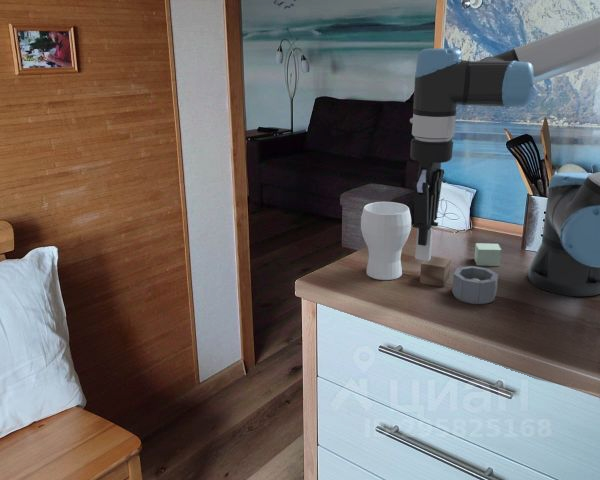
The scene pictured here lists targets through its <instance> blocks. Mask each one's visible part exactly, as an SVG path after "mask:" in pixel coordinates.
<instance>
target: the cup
mask: <svg viewBox="0 0 600 480" xmlns="http://www.w3.org/2000/svg"><path fill="white" fill-rule="evenodd" d="M360 230H361V233H362V237H363V240H364V242H365V244H366V246H367V249H368V261H367V264H366V265H367V266H366V271H365V272H366V275H367V276H368V277H370V278H372V279H375V280H383V281H390V280H391V281H392V280H396V279H398V278H400V277H402V275H403V271H402V270H403V269H402V262H401V261H402V260H401V256H402V251H403V248H404V246H405V244H406V242H407V241H408V238H409V237H410V233H411V230H412V216H411V211H410V208H409V206H407V205H406V204H404V203H399V202H394V201H375V202H371V203H368V204H366V205H364V207H363V208H362V213H361V216H360Z"/></svg>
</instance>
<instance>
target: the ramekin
mask: <svg viewBox="0 0 600 480" xmlns="http://www.w3.org/2000/svg"><path fill="white" fill-rule="evenodd" d="M452 277H453V278H452V291H451V292H452V295H453V296H454V298H456V299H457V300H458V301H461V302H463V303H465V304H473V305H486V304H489V303H493V302H494V300H495V298H496V296H497V290H498V282H499V281H498V279H499V274H498V273H496V271H495V272H494V271H493V270H491V269H490V268H486V267H481V266H477V265H475V266H474V265H469V266H463V267H457V268H456V269H455V271H454V272H453V276H452ZM473 278H477V279H479V280H480V281H477V280H471V279H473Z"/></svg>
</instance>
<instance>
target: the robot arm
mask: <svg viewBox="0 0 600 480" xmlns="http://www.w3.org/2000/svg"><path fill="white" fill-rule="evenodd" d="M598 62H600V16H597V17H594V18H592V19H589V20H587V21H584V22H581V23H578V24H577V25H573V26H570V27H567V28H565V29H562V30H560V31H557V32H555V33H552V34H550V35H547V36H544V37H541V38H539V39H536V40H533V41H530V42H528V43H525V44H523V45H520V46H517V47H514V48H513V49H510V50H507V51H503V52H500V53H498V54H496V55H492V56H490V55H489V56H487V57H483V58H480V60H476V61H475V60H474V61H471V60H464V59H463V57H462V51H461V50H460V49H459V48H443V47H442V48H439V47H438V48H433V47H432V48H424V49H422V50H420V51H419V53H418V54H417V58H416V65H415V66H416V67H415V75H414V90H413V108H412V109H413V110H412V113H413V114H412V117H410V119H409V123H410V124H412V127H411V128H412V129H411V135H412V136H413V137H412V139H411V140H410V150H409V151H410V152H409V154H410V155H409V156H410V158H411V160H413V161H415V162H418V163H419V166H418V169H417V170H416V173H415V178H416V180H417V181H414V180H413V182H412V190H413V191H412V192H413V225H412V228H414V229H416V237H415V238H416V240H415V251H414V252H415V254H414V256H415V257H414V259H415V260H419V261H424V260H425V261H429V260H430V259H431V256H432V248H433V247H432V246H433V235H434V234H433V233H434V227H436V228H437V227H438V226H439V222H437V221H436V220H437V219H438V212H439V205H440V199H441V192H442V190H441V189H442V184H443V180H444V179H443V178H444V175H445V170H444V169H442V167H441V166H442V163H443V164H444V163H447V162H450V161H451V160H452V158H453V148H454V141H453V139H451V138H453V137H455V131H456V130H455V129H456V117H457V106H478V107H481V106H482V107H501V108H502V107H503V108H506V109H508V108H511V107H512V108H515V107H520V108H521V107H525V106H526V105H528V103H529V102H530V100H531V95H532V92H533V87H534V86H533V85H534V84H537V83H539V82H543V81H546V80H548V79H549V80H550V79H552V78H554V77H558V76H560V75H563V74H566V73H569V72H572V71H575V70H578V69H581V68H585V67H587V66H590V65H592V64H595V63H598ZM547 191H548V192H547V199H546V206H545V207H546V208H545V213H544V214H545V215H544V223H543V230H542V238H541V243H540V246H539V247H538V249H537V252H536V253H535V255H534V256H533V259H532V261H531V263H530V265H529V269H528V276H527V277H528V280H529V281H530V282H531V283H532V284H533V285H534V286H536V287H538V288H540V289H542V290H545V291H548V292H550V293H554V294H559V295H563V296H571V297H593V296H598V295H600V171H598V172H594V173H588V172H558V173H555V174H553V175H552V176H551V178H550V180H549V186H547Z"/></svg>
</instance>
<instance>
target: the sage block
mask: <svg viewBox="0 0 600 480" xmlns="http://www.w3.org/2000/svg"><path fill="white" fill-rule="evenodd" d="M473 257H474V262H475V265H476V266H477V267H481V266H484V267H501V259H502V248H501V246H500V245H499V243H483V242H482V243H480V242H477V243H475V246H474V256H473Z"/></svg>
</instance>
